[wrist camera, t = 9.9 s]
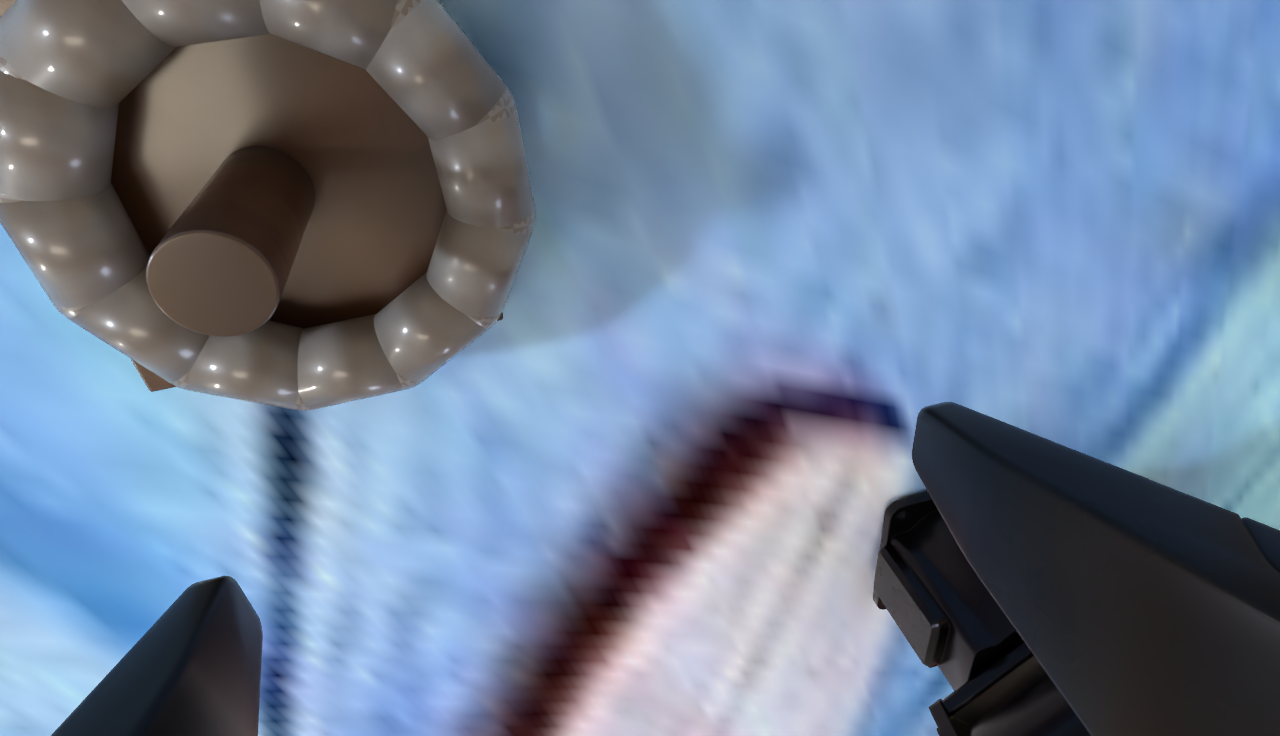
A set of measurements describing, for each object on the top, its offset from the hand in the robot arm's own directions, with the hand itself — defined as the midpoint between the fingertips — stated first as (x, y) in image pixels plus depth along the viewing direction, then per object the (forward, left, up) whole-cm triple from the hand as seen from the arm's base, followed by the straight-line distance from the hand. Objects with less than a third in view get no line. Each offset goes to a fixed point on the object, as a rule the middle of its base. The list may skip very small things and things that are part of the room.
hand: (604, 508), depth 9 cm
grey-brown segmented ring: (+5, -2, -10) cm, 11 cm away
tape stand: (+5, -2, -12) cm, 13 cm away
